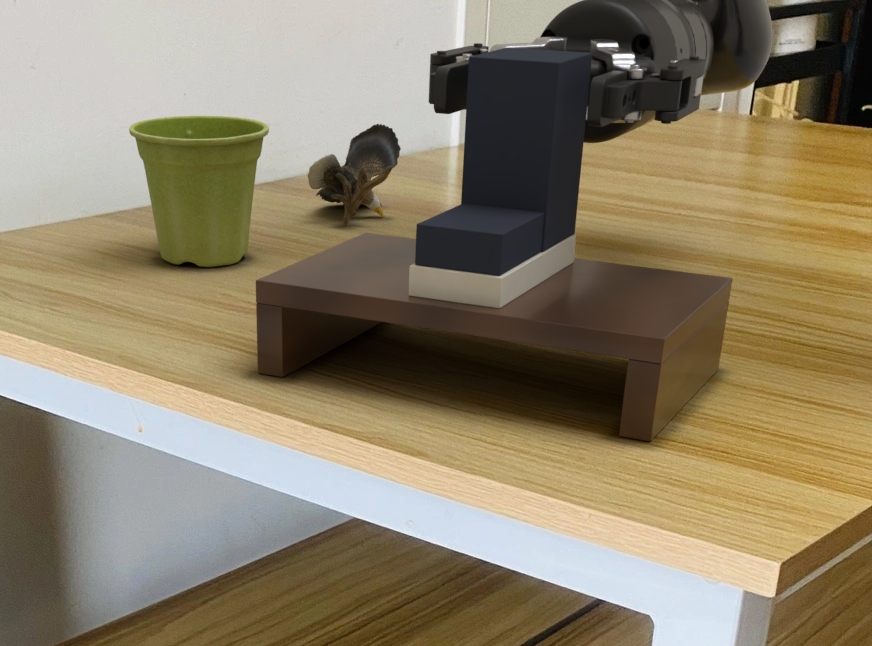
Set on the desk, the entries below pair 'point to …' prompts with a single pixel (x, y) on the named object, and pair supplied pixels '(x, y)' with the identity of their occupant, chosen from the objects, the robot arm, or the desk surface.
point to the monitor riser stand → (509, 318)
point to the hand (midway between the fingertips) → (516, 97)
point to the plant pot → (201, 184)
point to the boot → (510, 181)
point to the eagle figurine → (357, 171)
